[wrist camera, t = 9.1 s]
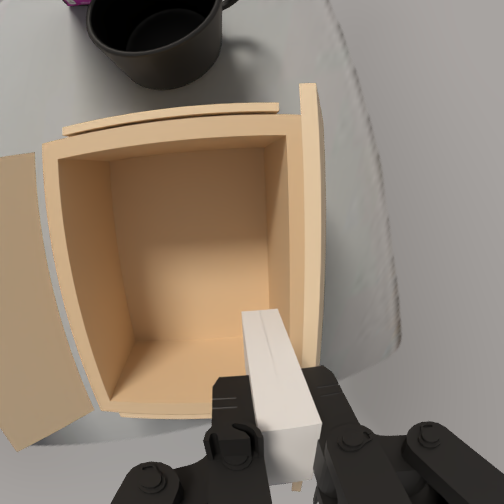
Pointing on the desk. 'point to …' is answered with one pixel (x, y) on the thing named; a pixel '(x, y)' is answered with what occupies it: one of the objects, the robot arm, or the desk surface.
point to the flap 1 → (31, 320)
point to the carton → (175, 246)
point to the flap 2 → (313, 226)
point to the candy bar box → (77, 2)
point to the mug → (158, 38)
